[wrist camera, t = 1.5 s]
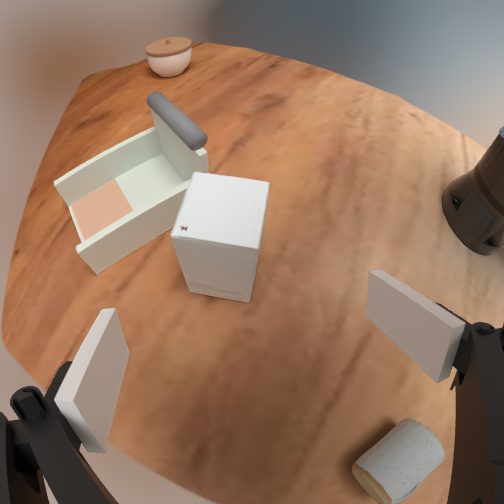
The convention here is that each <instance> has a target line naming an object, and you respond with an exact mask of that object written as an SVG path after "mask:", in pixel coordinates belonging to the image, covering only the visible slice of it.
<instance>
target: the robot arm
mask: <svg viewBox="0 0 504 504" xmlns="http://www.w3.org/2000/svg"><path fill="white" fill-rule="evenodd" d="M442 203H443V209H444V212H445V215H446V218H447V220H448V222H449V224H450V226H451V227H452V229H453V230H454V232H455V233H456V235H457V236H458V237H459V238H460V239H461V240H462V242H463V243H464V244H466V245H467V246H468V247H469V248H470V249H472V250H473V251H475V252H477V253H479V254H482V255H491V254H493V253H494V252H495V251H497V250H498V249H499V248H500V247H501V246H502V245H503V243H504V126H503V127H502V128H501V129H500V130H499V135H498V136H497V137H496V139H495V140H494V142H493V143H492V145H491V146H490V147H489V149H488V150H487V151H486V153H485V154H484V156H483V157H482V158H481V160H480V161H479V162H478V164H477V165H476V166H475V168H474V169H473V170H471V171H469V172H468V173H466V174H464V175H463V176H461V177H459V178H458V179H456V180H454V181H453V182H452V183H451V184H450V185H449V186H448V187H447V189H446V190H445V191H444V193H443V198H442ZM366 317H367V318H368V319H369V320H370V321H371V322H372V323H374V324H375V325H376V326H377V327H378V328H379V329H380V330H381V331H382V332H383V333H384V334H385V335H387V336H388V337H389V338H390V339H391V340H392V341H393V342H394V343H395V344H396V345H397V346H398V347H399V348H400V349H401V350H402V351H404V352H405V353H406V354H407V355H408V356H409V357H410V358H411V359H412V360H413V361H414V362H415V363H416V364H417V365H418V366H419V367H420V368H421V369H422V370H423V371H424V372H426V373H427V374H428V375H429V376H430V377H431V378H432V379H433V380H434V381H435V382H436V383H438V382H440V381H442V380H444V379H446V378H448V377H449V375H450V372H451V369H452V366H454V367H455V368H456V369H457V372H456V375H455V377H454V380H453V383H452V385H451V388H450V390H453V387H454V386H455V387H456V426H455V445H454V458H453V467H452V476H451V483H450V490H449V496H448V501H447V504H504V324H503V327H502V328H498V329H495V328H494V327H493V326H492V325H490V324H487V323H483V322H477V323H474V324H473V325H472V324H470V323H469V322H467V321H466V320H464V319H463V318H461V317H460V316H458V315H457V314H455V313H453V312H452V311H450V310H448V309H447V308H446V307H444V306H443V305H441V304H439V303H436V302H433V301H431V300H429V299H428V298H426V297H425V296H423V295H422V294H420V293H418V292H417V291H415V290H414V289H412V288H410V287H409V286H407V285H406V284H404V283H402V282H401V281H399V280H397V279H396V278H394V277H393V276H391V275H389V274H388V273H386V272H384V271H383V270H381V269H379V270H374V271H369V282H368V296H367V307H366ZM129 356H130V353H129V350H128V347H127V344H126V341H125V337H124V334H123V331H122V328H121V324H120V321H119V318H118V314H117V311H116V308H110V309H102V310H101V312H100V313H99V315H98V317H97V319H96V320H95V322H94V324H93V326H92V327H91V329H90V331H89V333H88V334H87V336H86V338H85V340H84V342H83V343H82V345H81V347H80V349H79V351H78V353H77V355H76V356H75V358H74V360H73V361H67V362H66V363H65V364H63V365H62V366H61V367H60V368H59V370H58V371H57V373H56V375H55V378H54V379H53V381H52V384H51V385H50V387H49V388H48V390H47V392H46V394H45V396H44V397H43V395H42V393H41V391H40V390H39V389H38V388H37V387H34V386H27V387H23V388H21V389H19V390H18V391H16V392H15V393H14V394H13V395H12V397H11V399H10V405H11V407H12V409H13V410H14V412H15V413H16V414H17V416H18V417H19V420H12V421H8V419H7V418H6V416H5V415H4V414H3V413H2V412H0V504H49V500H48V496H47V493H46V487H45V483H44V478H43V475H44V477H45V479H46V481H47V483H48V485H49V487H50V489H51V491H52V493H53V494H54V496H55V498H56V500H57V502H58V504H119V503H118V502H117V501H116V500H115V499H114V497H113V496H112V495H111V494H110V493H109V491H108V490H107V489H106V487H105V486H104V485H103V484H102V482H101V481H100V479H99V478H98V477H97V475H96V474H95V473H94V471H93V470H92V468H91V467H90V465H89V464H88V463H87V461H86V460H85V458H84V457H83V455H82V454H81V452H80V451H79V449H80V445H81V443H82V444H83V446H84V447H85V448H86V450H87V451H88V452H97V453H106V449H107V445H108V440H109V435H110V430H111V426H112V422H113V417H114V413H115V409H116V405H117V401H118V397H119V393H120V389H121V385H122V381H123V377H124V374H125V370H126V366H127V363H128V359H129Z"/></svg>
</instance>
